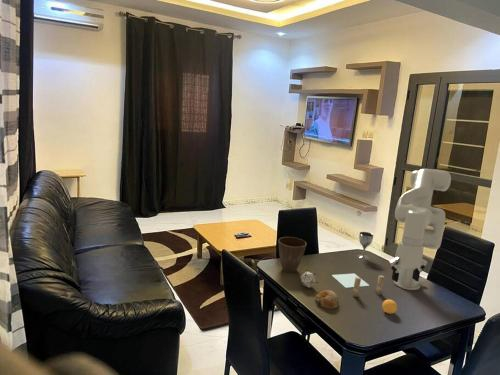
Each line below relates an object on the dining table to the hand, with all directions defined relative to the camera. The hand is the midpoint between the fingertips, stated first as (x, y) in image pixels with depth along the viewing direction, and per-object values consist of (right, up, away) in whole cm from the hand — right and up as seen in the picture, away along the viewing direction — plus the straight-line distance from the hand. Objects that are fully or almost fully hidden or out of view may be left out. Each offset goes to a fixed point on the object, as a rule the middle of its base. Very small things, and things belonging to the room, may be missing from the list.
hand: (405, 280), depth 152 cm
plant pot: (-42, -6, +48) cm, 64 cm away
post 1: (-13, -14, +24) cm, 31 cm away
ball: (-2, -14, +11) cm, 18 cm away
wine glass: (+5, -5, +73) cm, 74 cm away
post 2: (-1, -14, +28) cm, 32 cm away
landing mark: (-12, -10, +40) cm, 43 cm away
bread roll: (-29, -15, +15) cm, 36 cm away
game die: (-35, -11, +30) cm, 48 cm away
